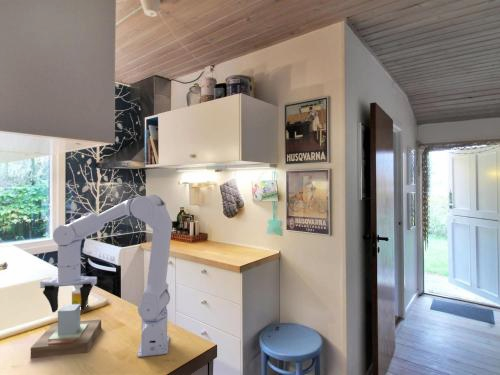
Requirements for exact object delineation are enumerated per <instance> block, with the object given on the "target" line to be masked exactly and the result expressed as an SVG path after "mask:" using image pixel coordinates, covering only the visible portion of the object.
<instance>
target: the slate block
mask: <svg viewBox="0 0 500 375" xmlns="http://www.w3.org/2000/svg"><path fill="white" fill-rule="evenodd" d="M80 321H81V310H80V304H73V305H72V304H64V305H62V306H61V308H60V309H58V311H57V323H58V335H69V334H75V333H76V332H77V330H78V329H79V328H80Z"/></svg>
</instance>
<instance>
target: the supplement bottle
mask: <svg viewBox="0 0 500 375" xmlns="http://www.w3.org/2000/svg"><path fill="white" fill-rule="evenodd" d="M82 286H83V285H75V286H73V287H74V288H72V290H71V305H73V304H80V307H81V293H80V288H81V287H82ZM87 304H88V305H89V298H88V299H87V303H86V305H87Z"/></svg>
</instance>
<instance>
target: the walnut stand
mask: <svg viewBox="0 0 500 375" xmlns="http://www.w3.org/2000/svg"><path fill="white" fill-rule="evenodd" d="M101 329H102V319H101V318H99V319H89V320H88V319H87V320H80V328H79V329H78V330H77V332H76V333H75V334H69V335H58V322H54V323H53V322H52V324H51V325H50V326H49V327H48V328H47V330H46V331H45V332H44V333H43V334H42V335H41V336H40V337H39V338H38V339H37V341H35V343H34V344H32V346H31V347H30V358H31V359H33V358H43V357H54V356H65V355H75V354H82V353H83V354H84V353H89V351H90V349H91V347H92V345H93V343H94V341H95V340H96V338H97V336H98V334H99V333H100V331H101Z"/></svg>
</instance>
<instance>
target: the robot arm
mask: <svg viewBox="0 0 500 375" xmlns="http://www.w3.org/2000/svg"><path fill="white" fill-rule="evenodd" d="M124 216H128V217H129V216H130V217H131V216H133V217H134V218H136V219H138V220H139V221H142V222H144V223H146V224H147V225H148V226H149V227H150V228H151V229H152V236H151V237H152V238H151V239H152V240H151V244H150V253H149V254H150V255H149V264H148V274H147V282H146V286H145V288H144V290H143V292H142V299H141V301H140V302H139V303H138V306H137V312H138V315H139V317H140V318H141V335H140V336H141V337H140V338H141V340H140V344H139V348H138V350H137V351H138V352H137V355H136V356H137V358H139V357H142V358H143V357H148V356H149V357H150V356H158V355H166V354H168V352H169V344H170V343H169V341H170V335H168V308H167V305H169V303H170V300H171V295H170V292H169V284H168V282H167V275H168V268H169V267H168V265H169V256H170V249H171V240H172V231H173V230H172V229H173V221H172V219H171V217H170V214H169V211H168V209H167V203H166V202H165V201H164V200H163V199H162V198H161V197H160V196H158V195H156V194H149V195H139V196H136V197H135V198H134V197H133V198H129V199H126V200H124V201H122V202H120V203H118V204H117V205H115V206H113V207H111V208H109V209H106V210H105V211H103V212H101V213H98V212H90V211H88V212H86V213H83V216H82V217H80V218H78V219H72V220H69V222H70V223H69V224H60V225H58V226H57V227H56V228H55V229H54V231H53V232H52V238H53V240H54V242H55V243H56V245H57V277H56V278H55V277H54V278H47V279H42V280H41V281H40V282H39V283H40V285H39V286H40V289H44V290H43V291H42V295H44V297H45V298H46V300H47V301H48V303H49V305H50V308H51V313H56V312H58V311H59V291H60V287H69V286H70V287H71V286H73V287H74V286H75V285H83V286H82V287H81V288H80V293H81V310H80V311H84V310H86V309H87V308H86V303H87V299H88V300H89V297H90V296H89V295H90V293H91V291H92V289H93V288H94V286H95V285H97V283H98V276H82V275H81V245H82V240H83V239H85V238H87V237H89V236H91V235H93V234H96V233H98V232H99V231H102V230H103V229H104V227H105V224H107V223H109V222H112V221H114V220H117V219H118V218H122V217H124ZM57 310H58V311H57Z"/></svg>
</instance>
